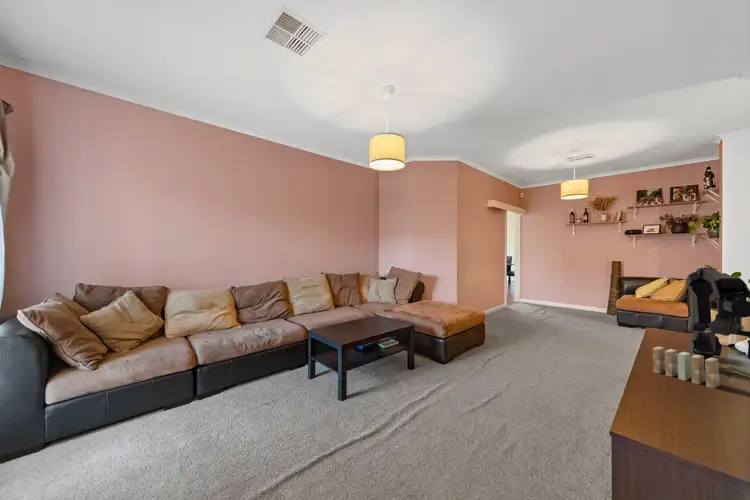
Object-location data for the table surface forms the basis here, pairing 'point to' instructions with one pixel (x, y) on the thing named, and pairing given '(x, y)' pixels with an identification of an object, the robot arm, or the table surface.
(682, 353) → the domino
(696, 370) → the domino
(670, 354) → the domino
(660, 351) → the domino
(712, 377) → the domino
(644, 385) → the table surface
